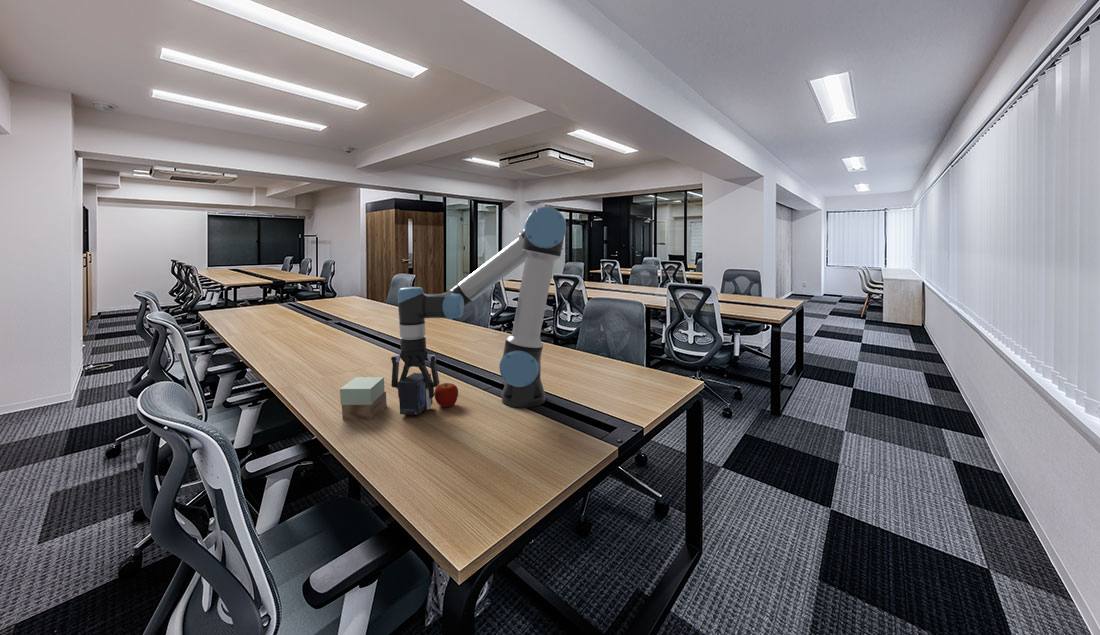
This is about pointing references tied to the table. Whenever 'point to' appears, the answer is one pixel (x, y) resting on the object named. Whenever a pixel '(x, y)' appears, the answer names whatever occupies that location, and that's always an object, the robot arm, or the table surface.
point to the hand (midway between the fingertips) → (416, 407)
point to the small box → (413, 394)
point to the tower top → (362, 391)
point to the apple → (446, 394)
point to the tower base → (364, 409)
